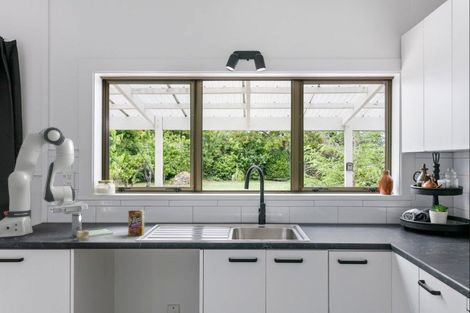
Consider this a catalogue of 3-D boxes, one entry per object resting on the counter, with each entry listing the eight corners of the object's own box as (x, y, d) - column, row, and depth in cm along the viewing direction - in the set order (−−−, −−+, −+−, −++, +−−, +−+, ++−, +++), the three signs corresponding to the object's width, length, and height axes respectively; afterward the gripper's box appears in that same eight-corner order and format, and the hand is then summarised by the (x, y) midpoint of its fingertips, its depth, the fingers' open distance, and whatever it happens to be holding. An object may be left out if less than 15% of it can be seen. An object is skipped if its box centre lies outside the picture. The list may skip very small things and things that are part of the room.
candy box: (127, 235, 199) (128, 210, 200) (130, 234, 203) (130, 209, 204) (141, 236, 198) (142, 210, 199) (144, 234, 203) (144, 209, 203)
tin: (72, 238, 191) (73, 214, 191) (70, 237, 195) (70, 213, 195) (82, 237, 194) (83, 213, 194) (80, 235, 198) (80, 212, 199)
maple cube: (79, 241, 184) (79, 232, 184) (76, 239, 188) (77, 231, 188) (88, 240, 187) (88, 231, 187) (86, 238, 191) (86, 230, 191)
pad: (89, 237, 195) (89, 235, 195) (82, 233, 206) (82, 231, 206) (113, 233, 204) (113, 232, 204) (105, 230, 215) (105, 228, 215)
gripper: (49, 204, 209) (54, 206, 198) (84, 200, 222) (90, 202, 211) (50, 214, 209) (54, 216, 198) (84, 210, 222) (90, 212, 211)
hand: (73, 209), depth 205 cm, fingers open, 8 cm apart
